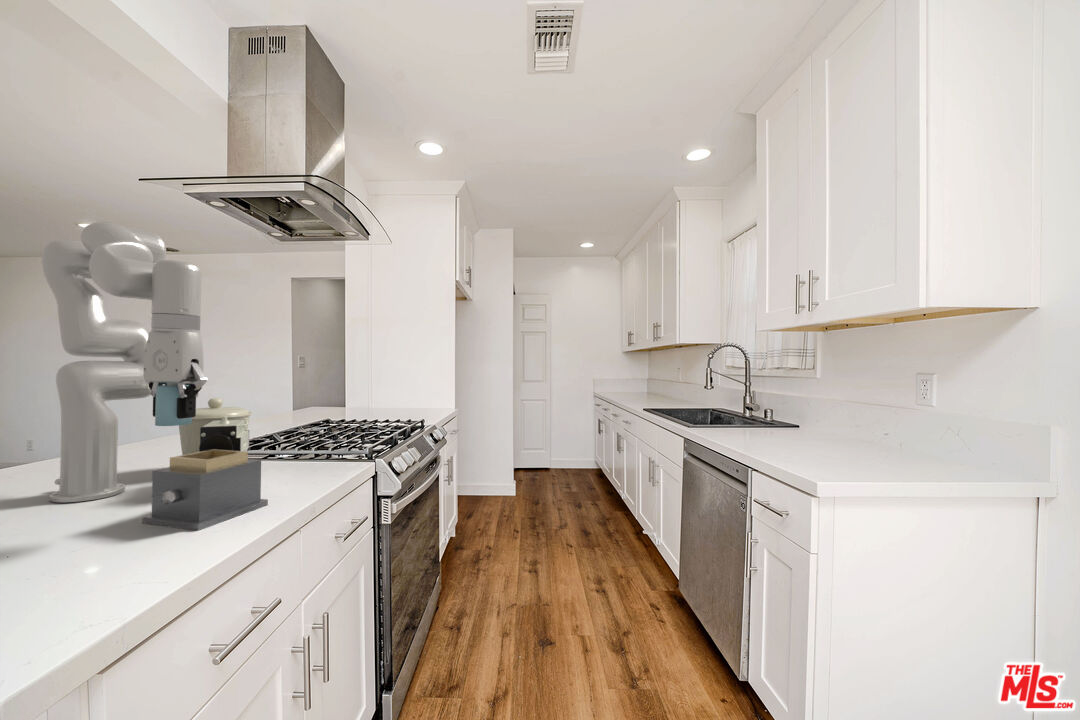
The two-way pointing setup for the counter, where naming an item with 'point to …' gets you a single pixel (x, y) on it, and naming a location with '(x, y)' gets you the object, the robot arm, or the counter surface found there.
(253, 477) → the grey box
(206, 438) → the cream boxy piece
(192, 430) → the canister
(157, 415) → the drain pump
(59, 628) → the counter surface
